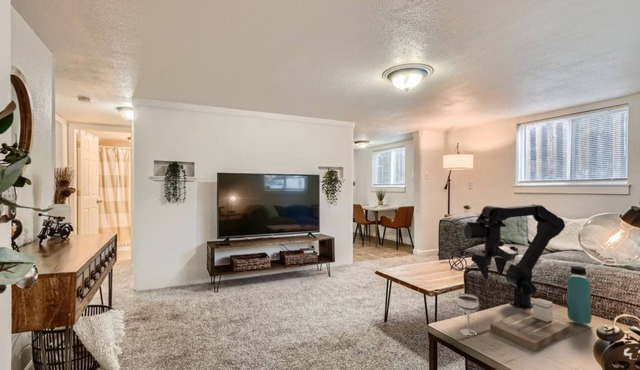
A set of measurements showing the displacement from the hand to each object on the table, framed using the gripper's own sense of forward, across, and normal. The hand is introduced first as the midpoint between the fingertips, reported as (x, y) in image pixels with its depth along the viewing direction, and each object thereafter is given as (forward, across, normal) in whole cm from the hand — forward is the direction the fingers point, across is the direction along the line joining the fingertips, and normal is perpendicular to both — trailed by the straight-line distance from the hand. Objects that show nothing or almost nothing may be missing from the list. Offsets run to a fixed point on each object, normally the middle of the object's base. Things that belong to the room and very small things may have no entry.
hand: (493, 277), depth 126 cm
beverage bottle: (+12, +11, -24) cm, 29 cm away
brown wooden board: (+12, -8, -18) cm, 23 cm away
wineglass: (+12, -26, -8) cm, 30 cm away
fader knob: (+10, -1, -18) cm, 21 cm away
